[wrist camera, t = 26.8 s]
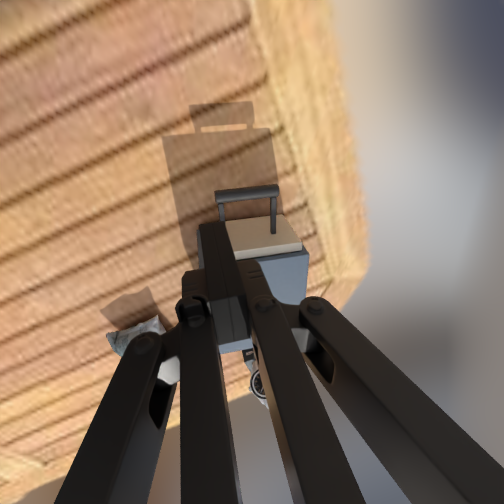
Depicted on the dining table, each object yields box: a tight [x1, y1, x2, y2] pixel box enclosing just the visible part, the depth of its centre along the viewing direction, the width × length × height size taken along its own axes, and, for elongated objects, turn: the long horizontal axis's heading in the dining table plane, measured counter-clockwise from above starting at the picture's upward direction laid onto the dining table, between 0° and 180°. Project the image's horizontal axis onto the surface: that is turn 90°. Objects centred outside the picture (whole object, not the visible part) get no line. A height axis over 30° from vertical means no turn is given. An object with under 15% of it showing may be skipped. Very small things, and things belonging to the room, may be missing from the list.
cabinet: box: [197, 230, 309, 354], centre depth 39 cm, size 15×13×10 cm
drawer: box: [200, 184, 302, 260], centre depth 36 cm, size 20×11×8 cm, turn 2°
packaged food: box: [106, 315, 166, 357], centre depth 45 cm, size 9×12×5 cm
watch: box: [242, 348, 269, 409], centre depth 50 cm, size 6×8×11 cm
